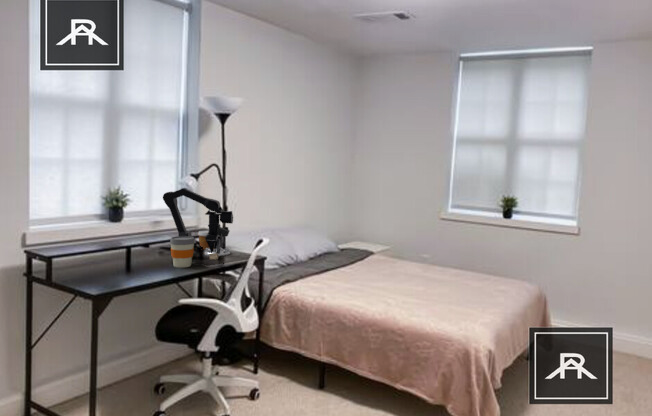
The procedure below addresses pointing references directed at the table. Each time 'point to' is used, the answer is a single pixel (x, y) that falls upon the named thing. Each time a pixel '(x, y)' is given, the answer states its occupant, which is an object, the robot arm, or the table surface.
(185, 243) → the reusable coffee cup
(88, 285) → the table surface
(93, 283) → the table surface
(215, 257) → the link block
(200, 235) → the disposable coffee cup
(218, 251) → the index wheel
